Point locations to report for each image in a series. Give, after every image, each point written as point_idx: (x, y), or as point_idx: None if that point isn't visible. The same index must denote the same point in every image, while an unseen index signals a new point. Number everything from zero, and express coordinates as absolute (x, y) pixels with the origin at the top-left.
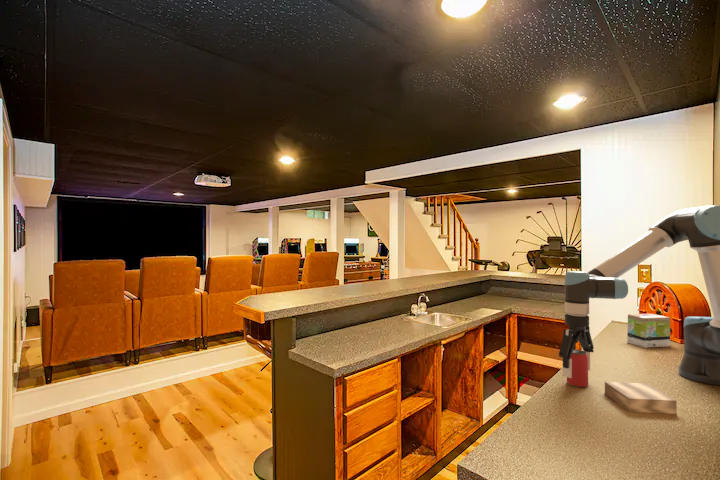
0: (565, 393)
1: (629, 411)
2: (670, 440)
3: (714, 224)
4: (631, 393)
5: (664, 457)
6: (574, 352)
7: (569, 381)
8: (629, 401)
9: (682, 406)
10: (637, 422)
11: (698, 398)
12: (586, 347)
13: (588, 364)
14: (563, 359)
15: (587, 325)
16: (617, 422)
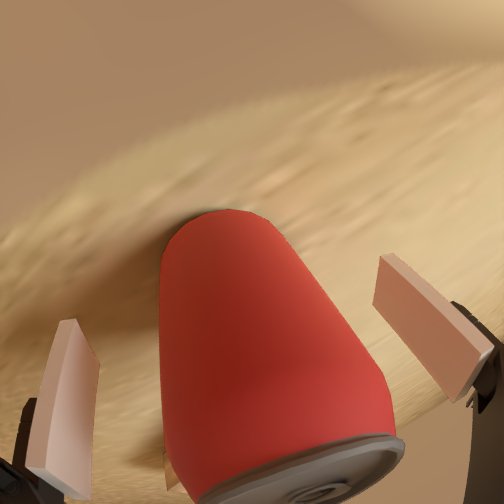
0: (41, 321)
1: (163, 454)
2: (123, 495)
3: None
4: None
5: (65, 497)
6: (259, 498)
7: (160, 269)
8: (166, 482)
9: None
10: (124, 472)
11: (415, 411)
12: (479, 434)
13: (397, 328)
14: (16, 466)
15: None
16: None
